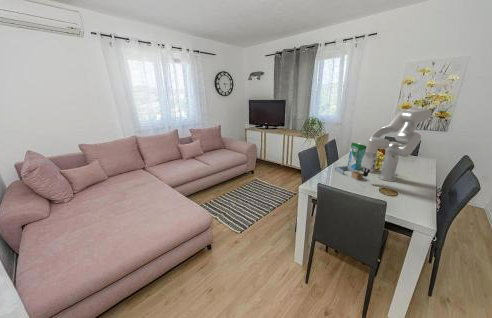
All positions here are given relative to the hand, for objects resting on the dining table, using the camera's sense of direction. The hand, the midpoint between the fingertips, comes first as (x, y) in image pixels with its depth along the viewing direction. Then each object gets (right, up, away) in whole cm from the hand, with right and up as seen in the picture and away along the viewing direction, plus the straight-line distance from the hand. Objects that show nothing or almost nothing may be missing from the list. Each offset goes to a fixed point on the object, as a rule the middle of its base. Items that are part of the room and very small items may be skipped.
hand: (365, 176), depth 157 cm
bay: (-5, +2, +23) cm, 23 cm away
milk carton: (+9, +5, +32) cm, 34 cm away
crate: (-1, -3, +10) cm, 10 cm away
